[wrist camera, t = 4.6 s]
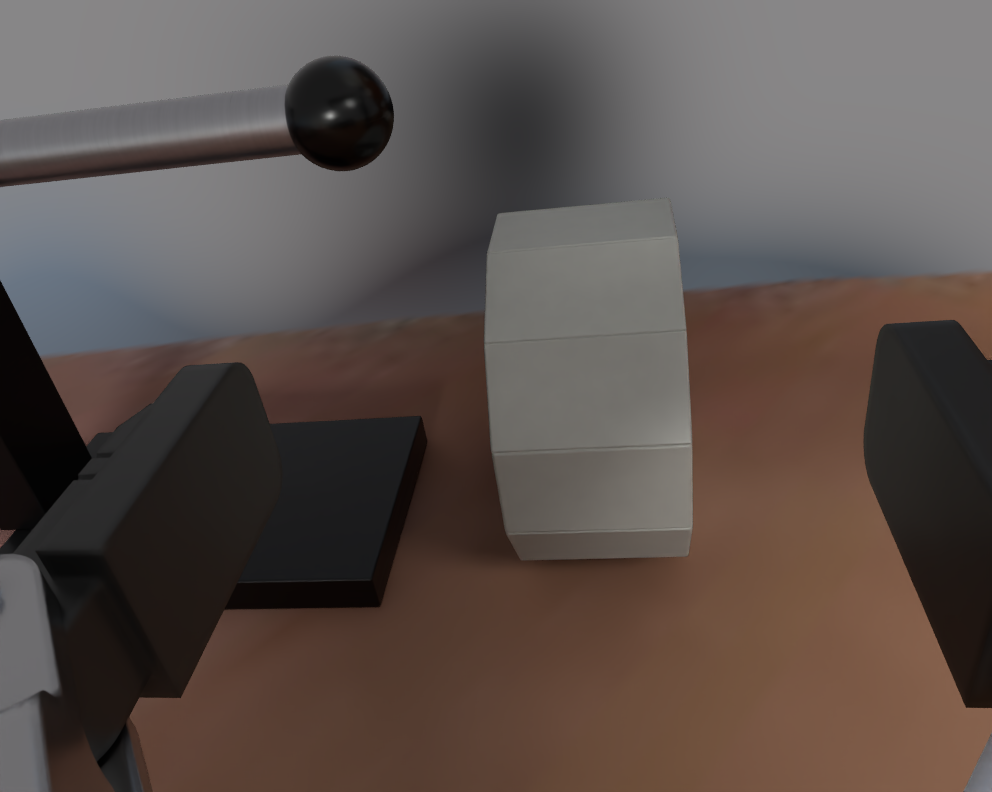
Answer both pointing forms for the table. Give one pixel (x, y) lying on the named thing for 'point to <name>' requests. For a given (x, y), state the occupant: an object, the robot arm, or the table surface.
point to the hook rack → (302, 446)
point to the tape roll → (589, 381)
